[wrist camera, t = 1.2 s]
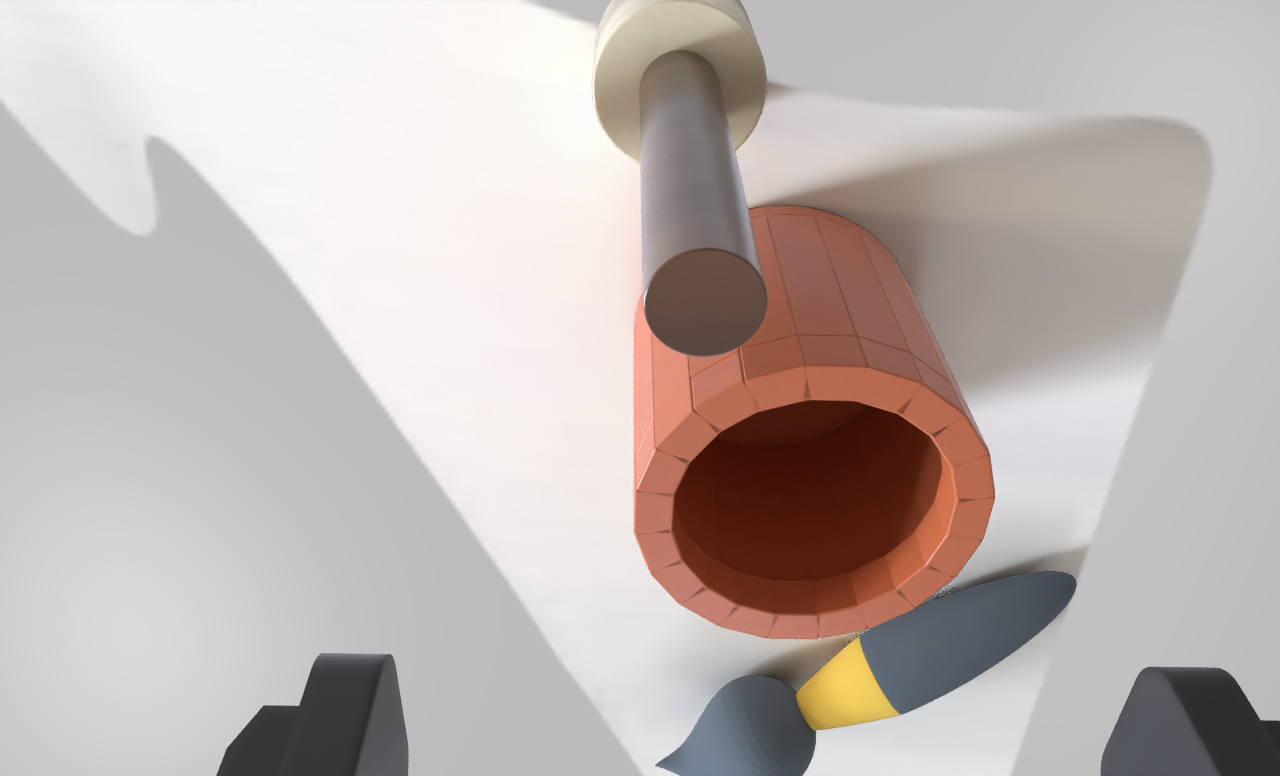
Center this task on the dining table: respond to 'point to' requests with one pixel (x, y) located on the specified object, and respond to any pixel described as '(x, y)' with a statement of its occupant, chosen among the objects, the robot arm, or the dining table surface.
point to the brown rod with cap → (687, 160)
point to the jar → (809, 448)
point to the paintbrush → (870, 677)
